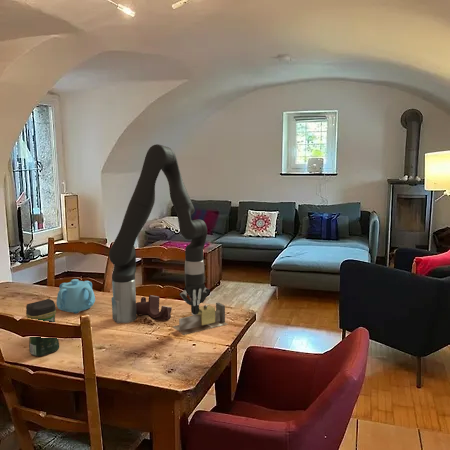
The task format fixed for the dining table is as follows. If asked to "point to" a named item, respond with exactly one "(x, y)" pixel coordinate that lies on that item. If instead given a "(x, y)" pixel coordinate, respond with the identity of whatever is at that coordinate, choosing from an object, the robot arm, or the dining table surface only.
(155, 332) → the dining table surface
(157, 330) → the dining table surface
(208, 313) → the block with knob
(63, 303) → the decorative pot
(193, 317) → the rail
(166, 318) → the bracket
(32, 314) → the coffee jar
